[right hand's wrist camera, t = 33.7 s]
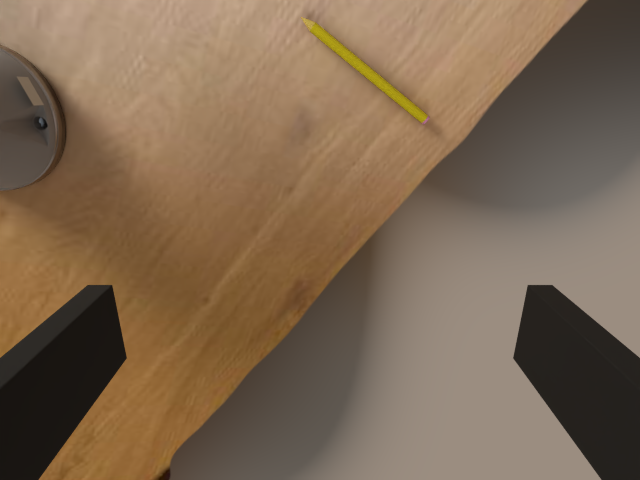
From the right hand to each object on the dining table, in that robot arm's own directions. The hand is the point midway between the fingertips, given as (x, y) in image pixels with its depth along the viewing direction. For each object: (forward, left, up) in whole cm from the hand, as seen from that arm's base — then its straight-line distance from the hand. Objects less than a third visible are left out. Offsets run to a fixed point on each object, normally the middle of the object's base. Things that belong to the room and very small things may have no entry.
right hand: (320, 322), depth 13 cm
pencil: (+9, +4, -34) cm, 36 cm away
